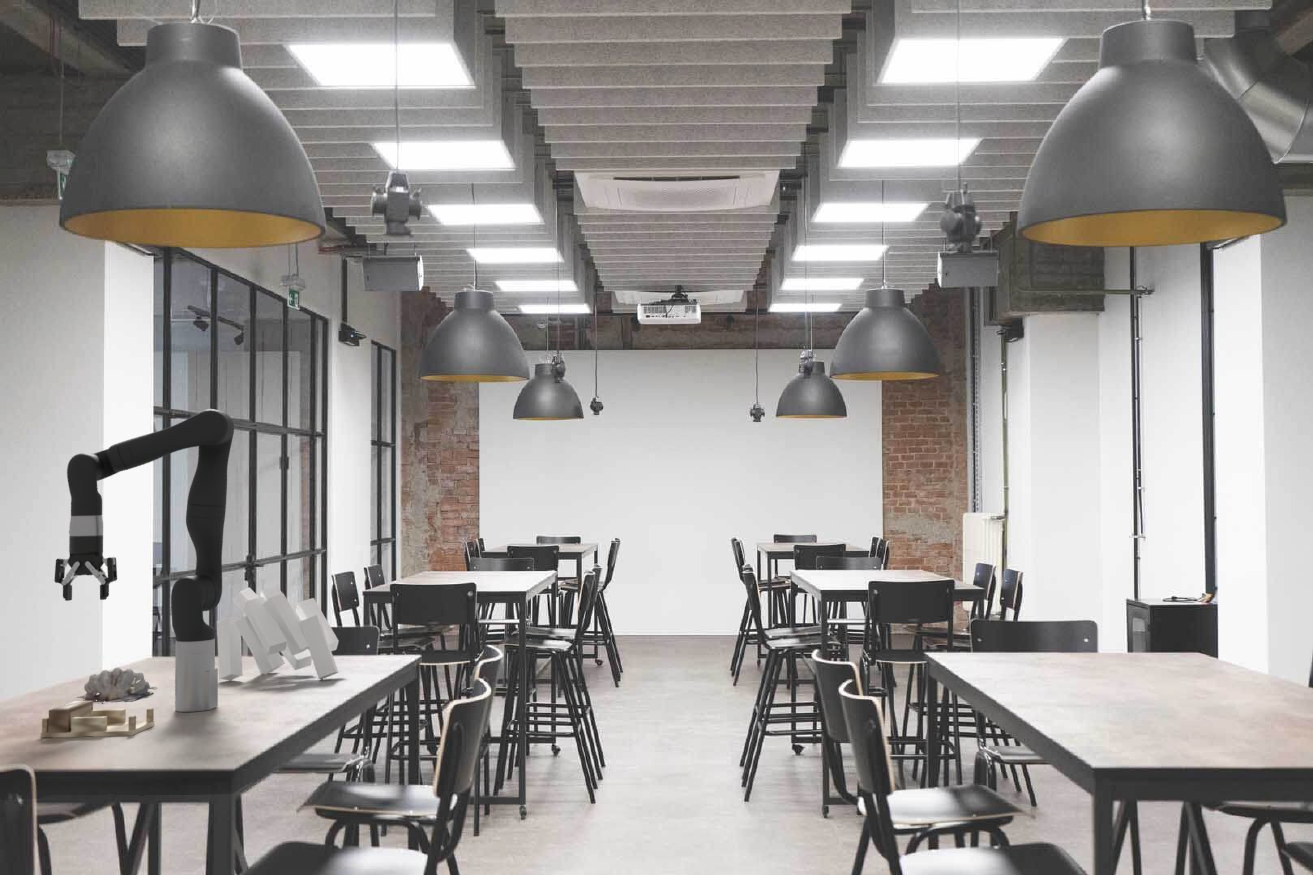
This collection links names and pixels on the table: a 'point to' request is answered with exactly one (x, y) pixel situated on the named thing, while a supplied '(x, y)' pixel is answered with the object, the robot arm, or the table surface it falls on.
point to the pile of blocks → (275, 635)
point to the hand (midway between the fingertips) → (85, 600)
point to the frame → (68, 715)
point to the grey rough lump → (116, 686)
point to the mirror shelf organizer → (103, 724)
